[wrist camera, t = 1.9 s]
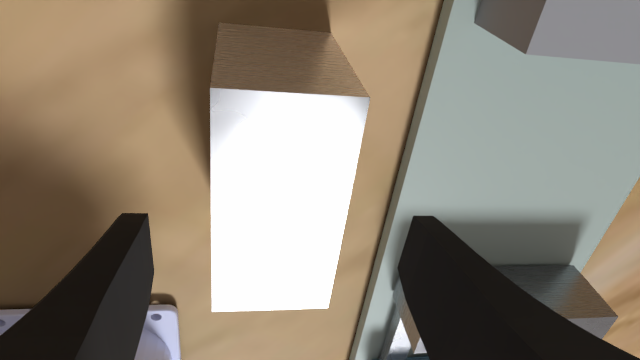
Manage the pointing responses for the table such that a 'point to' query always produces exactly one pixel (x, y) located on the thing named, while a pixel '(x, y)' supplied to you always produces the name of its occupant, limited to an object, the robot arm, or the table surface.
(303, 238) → the steel block
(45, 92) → the table surface
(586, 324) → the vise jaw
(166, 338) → the robot arm
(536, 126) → the vise
